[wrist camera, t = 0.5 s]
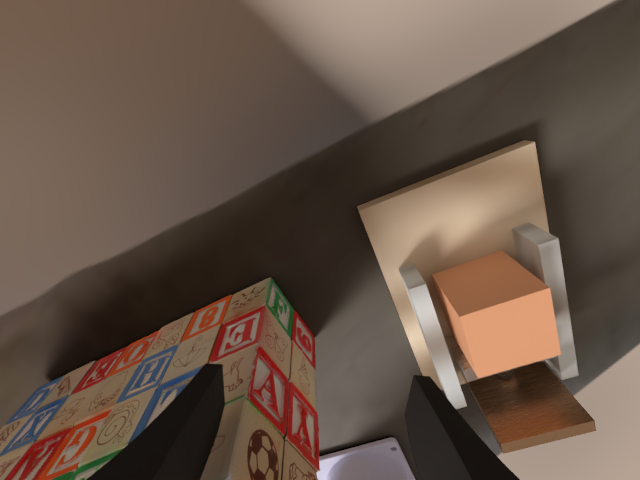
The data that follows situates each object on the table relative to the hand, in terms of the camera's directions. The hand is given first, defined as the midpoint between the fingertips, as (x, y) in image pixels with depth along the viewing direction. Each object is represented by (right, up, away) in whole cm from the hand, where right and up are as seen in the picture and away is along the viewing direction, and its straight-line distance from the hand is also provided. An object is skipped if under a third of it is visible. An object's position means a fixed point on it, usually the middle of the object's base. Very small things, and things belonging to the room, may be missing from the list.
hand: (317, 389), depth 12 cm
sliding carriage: (+12, -2, +10) cm, 15 cm away
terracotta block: (+10, +2, +8) cm, 13 cm away
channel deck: (+10, +3, +9) cm, 14 cm away
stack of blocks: (-11, -3, +12) cm, 17 cm away
